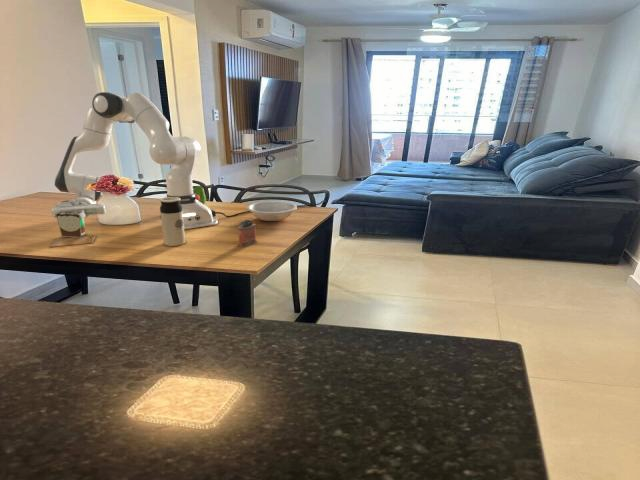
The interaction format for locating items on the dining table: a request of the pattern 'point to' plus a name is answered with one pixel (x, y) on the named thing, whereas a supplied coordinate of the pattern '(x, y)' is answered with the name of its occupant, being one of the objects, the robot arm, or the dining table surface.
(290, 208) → the soup bowl
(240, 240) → the red tin
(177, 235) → the travel mug
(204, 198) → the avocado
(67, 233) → the food container
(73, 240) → the cork pad
